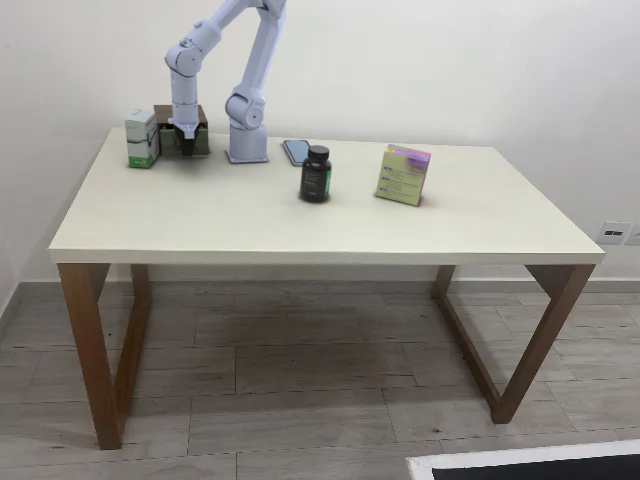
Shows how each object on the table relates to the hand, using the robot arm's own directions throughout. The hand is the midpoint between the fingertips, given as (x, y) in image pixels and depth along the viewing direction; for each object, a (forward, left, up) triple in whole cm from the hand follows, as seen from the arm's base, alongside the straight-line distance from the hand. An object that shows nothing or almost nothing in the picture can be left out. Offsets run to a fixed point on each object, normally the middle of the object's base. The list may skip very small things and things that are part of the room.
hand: (187, 155), depth 121 cm
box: (-48, +22, -4) cm, 53 cm away
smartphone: (-31, -5, -3) cm, 32 cm away
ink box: (+10, -5, -4) cm, 12 cm away
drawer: (0, -9, -2) cm, 10 cm away
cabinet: (0, -15, -3) cm, 16 cm away
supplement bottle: (-27, +19, -4) cm, 33 cm away
